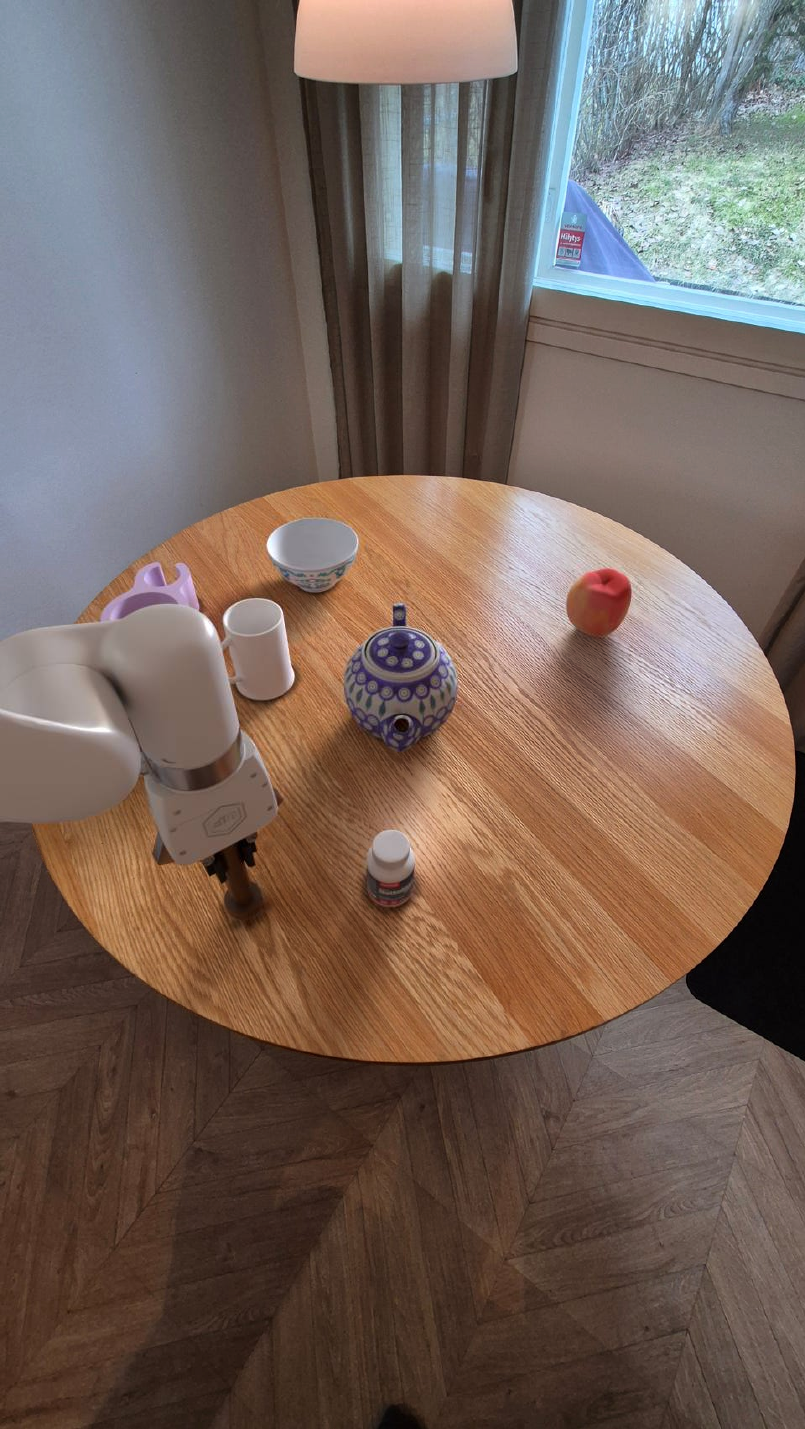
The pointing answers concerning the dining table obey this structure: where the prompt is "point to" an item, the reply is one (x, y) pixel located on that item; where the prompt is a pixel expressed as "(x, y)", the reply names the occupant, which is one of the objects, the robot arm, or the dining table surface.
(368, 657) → the teapot
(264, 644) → the mug
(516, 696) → the dining table surface
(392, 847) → the pill bottle
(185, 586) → the clip
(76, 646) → the robot arm
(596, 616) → the apple
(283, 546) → the chinaware
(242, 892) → the rod
